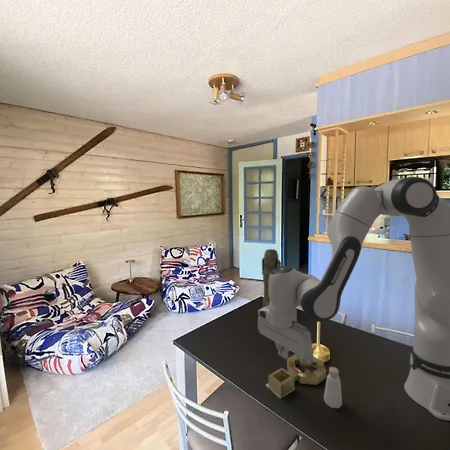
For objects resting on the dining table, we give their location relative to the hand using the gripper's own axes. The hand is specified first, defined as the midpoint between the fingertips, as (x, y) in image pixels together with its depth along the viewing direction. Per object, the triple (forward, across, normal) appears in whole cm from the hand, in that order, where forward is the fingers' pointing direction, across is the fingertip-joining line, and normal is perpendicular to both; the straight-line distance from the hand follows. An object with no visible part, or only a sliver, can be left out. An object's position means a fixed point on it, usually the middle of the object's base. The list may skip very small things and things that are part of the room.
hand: (283, 356), depth 84 cm
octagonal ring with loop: (+12, +1, -8) cm, 14 cm away
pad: (+12, +2, 0) cm, 12 cm away
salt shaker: (+13, -13, -8) cm, 20 cm away
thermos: (+12, +43, -39) cm, 59 cm away
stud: (+12, +1, -13) cm, 18 cm away
